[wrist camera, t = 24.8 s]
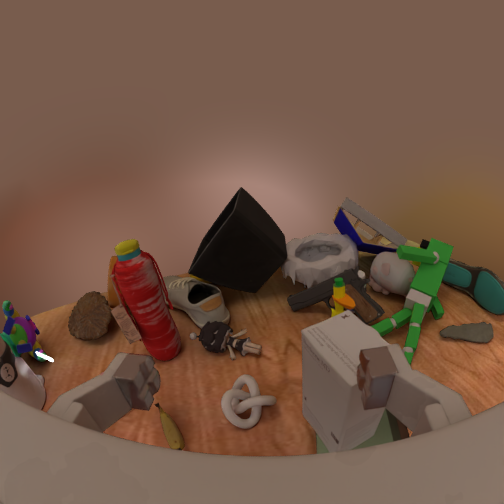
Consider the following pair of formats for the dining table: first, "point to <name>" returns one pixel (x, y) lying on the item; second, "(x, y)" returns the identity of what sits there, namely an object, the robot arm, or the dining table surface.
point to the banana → (171, 430)
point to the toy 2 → (419, 291)
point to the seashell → (90, 317)
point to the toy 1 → (391, 274)
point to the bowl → (319, 258)
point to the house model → (363, 238)
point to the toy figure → (341, 298)
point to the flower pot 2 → (240, 247)
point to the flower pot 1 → (112, 294)
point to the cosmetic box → (337, 381)
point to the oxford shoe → (196, 299)
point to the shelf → (377, 433)
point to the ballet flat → (477, 285)
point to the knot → (244, 402)
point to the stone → (469, 332)
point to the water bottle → (143, 302)
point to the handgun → (353, 288)
